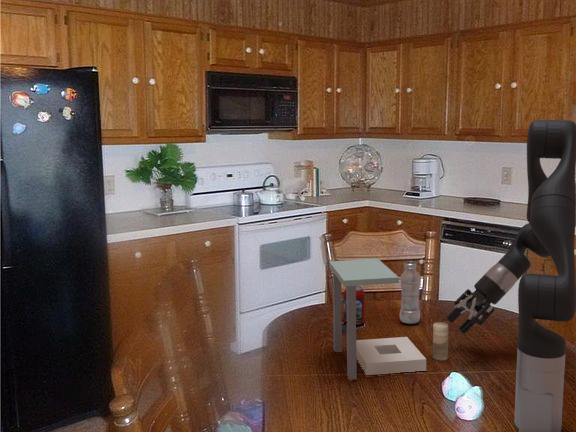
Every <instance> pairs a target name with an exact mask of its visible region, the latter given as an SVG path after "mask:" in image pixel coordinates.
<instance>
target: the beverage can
mask: <svg viewBox="0 0 576 432" xmlns="http://www.w3.org/2000/svg"><path fill="white" fill-rule="evenodd" d="M365 297H366V293H365V291H364V289H363V286H362V285H360V286H356V320H361V321H362V322H363V324H364V323H366V322H365V321H366V320H365V319H366V312H365V311H366V309H365V308H366V299H365ZM346 321H347V309H346V288H345V289H344V290H343V322H344V323H345V322H346Z"/></svg>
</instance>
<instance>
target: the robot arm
mask: <svg viewBox="0 0 576 432" xmlns="http://www.w3.org/2000/svg"><path fill="white" fill-rule="evenodd" d="M541 159H553V160H554V159H557V160H558V159H559V160H560V161H559V162H558V164H557V166H556V168H555V169H554V170H553V172H552V173H551V174H549V176H547V175H546V173H545V172H544V170H543V167H542V164H541ZM526 173H527V174H526V175H527V186H528V188H527V191H528V196H527V204H526V205H527V208H526V220H527V222H528V223H526V224H524V225H523V226H522V227H521V228H520V229H519V230H518V232H517V234H516V236H515V238H514V239H513V242H512V244H511V245H510V246H509V249H508V250H507V252H506V253H505V254H504V255H503V256H502V257H501V258H499V259H500V260H498V262H495V264H494V265H493V266H491V267H490V268H489V269H488V270H487V271H486V272H485V273H484V274H483V275H482V276H481V278H480V279H479V280H478V281H476V282H475V284H474V286H473V287H474V289H475V290H474V291H473V292H472V291H471V290H470V289H469V288H467V289H466V290H465V291H464V292H463V293H462V294H461V295H460V296H459V297H458V298H457V299H455V301H454V302H453V305H454V308H453V309H452V311H451V312H450V313H448V315H447V316H446V319H447V320H448V321H449V322H450V323H452V324H453V323H454V322H455V321H456V320H457V319H458V318H459V317H460V316H461V315H462V314H463V313H465V312H469V316H468V318H466V319H465V320H464V321H463V323H461V325H459V326H458V331H460V332H461V333H462V334H463V335H465V334H466V333H468V332H469V330H470V329H472V328H473V326H476V325H478V326H481V325H483V324H484V323H485V321H487V319H488V318H489V317H490V316H491V315H492V314H493V313H494V312H495V310H496V308H494V307H493V306H492V305H497V304H498V303H499V302H500V301H501V300H502V299H503V298H504V296H506V294H507V293H508V292H510V290H511V289H512V288H513V287H514V286H515V285H516V283H517V282H518V280H519V282H518V289H517V291H518V293H517V303H518V306H517V307H518V309H517V310H518V330H517V331H518V332H517V346H516V347H517V351H516V352H517V353H516V374H515V375H516V376H515V397H514V398H515V400H514V422H513V423H514V425H515V427H516V428H517V429H518V432H562V425H563V424H562V422H563V403H564V386H565V385H564V384H565V370H566V369H565V368H566V352H567V350H566V349H567V345H566V344H567V343H566V340H565V338H564V337H563V336H562V335H560V334H559V333H557V332H554V331H552V330H550V329H548V328H545V327H544V326H543V325H541V324H540V323H538V321H536V320H541V321H542V320H543V321H550V322H551V321H554V322H565V323H566V322H570V321H572V320H573V319H574V317H575V315H576V265H575V264H576V263H575V260H576V259H575V239H576V238H575V235H576V122H575V121H573V120H568V119H567V120H566V119H535V120H533V121H531V123H530V124H529V127H528V131H527V138H526ZM527 249H528V250H529V251H531V252H533V253H534V254H535V255H537V256H539V257H542V258H549V257H550V258H551V259H552V261H553V263H554V265H555V268H556V271H557V275H555V274H554V275H553V274H542V273H541V274H540V273H526V272H527V271H528V270H529V269H530V267H531V265H532V264H531V262H530V260H529V259H528V257H527V256H526V255H525V252H526V250H527ZM491 304H492V305H491Z"/></svg>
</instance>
